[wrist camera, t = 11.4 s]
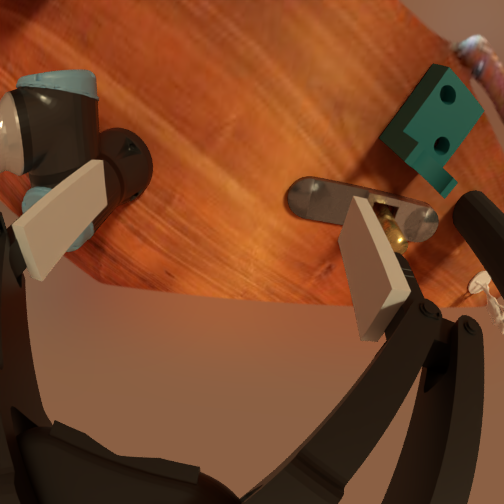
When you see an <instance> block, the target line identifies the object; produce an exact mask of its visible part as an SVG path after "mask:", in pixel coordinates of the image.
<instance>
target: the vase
mask: <svg viewBox="0 0 504 504" xmlns="http://www.w3.org/2000/svg"><path fill="white" fill-rule="evenodd" d="M453 223H454V225H455V227H456V228H457V230H458V231H459V232H460V234H461V235H462V236H463V238H464V239H465V240H466V242H467V243H468V245H469V246H470V247H471V249H472V250H473V252H474V253H475V255H476V256H477V257H478V259H479V260H480V262H481V263H482V265H483V266H484V268H485V269H486V271H487V273H488V274H489V276H490V277H491V279H492V281H493V282H494V284H495V285H496V287H497V289H498V290H499V292H500V294H501V296H502V297H503V299H504V213H503V212H502V211H501V210H500V209H499V208H498V207H497V206H496V205H495V204H494V203H493V202H492V201H491V200H490V199H488V198H487V197H486V196H485V195H484V194H483V193H482V192H480V191H476V190H475V191H470V192H468V193H466V194H465V195H463V196H462V197H461V198H460V200H459V201H458V202H457V204H456V206H455V208H454V212H453Z"/></svg>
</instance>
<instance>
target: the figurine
mask: <svg viewBox="0 0 504 504" xmlns="http://www.w3.org/2000/svg"><path fill="white" fill-rule="evenodd" d="M490 280H491V277H490V276H489V274H488V273H487V271H481V272H479V273H478V274H476V275H475V276H474V277H473V278H472V279H471V281H470V283H469V286H468V290H469V292H470V293H471V294H472V293H479V292H481V291H482V290H484V292H485V293H486V294H487V305H486V308H487V311H488V313H489V314H490V316H491V320H492V324H493V325H498V327H499V329H500V332H501V334H504V310H503V312H502V311H501V309H500V307H502V308H504V306H502V305H500V304H498V302H497V300H496V298H494V297H493V296H491V295H490V293H489V287H488V284H489V283H490ZM486 288H487V289H486ZM499 306H500V307H499ZM492 317H493V318H492ZM493 319H494V320H495V321H494V320H493Z"/></svg>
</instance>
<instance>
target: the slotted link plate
mask: <svg viewBox="0 0 504 504" xmlns="http://www.w3.org/2000/svg"><path fill="white" fill-rule="evenodd" d="M353 196H357V197H361V198H365V199H367V200H368V202H369V204H370V206H371V207H372V208H373V205H374V202H379V203H383V204H387V205H392V206H393V209H392V211H391V214H392V215H393V217H394V219H395V221H396V222H397V224H398V226H399V228H400V229H401V231H402V233H403V235H404V237H405V239H406V240H407V241H412V242H422V241H425V240H427V239H429V238H430V237H431V236H432V235H433V234H434V233H435V231H436V230H437V227H438V223H439V220H438V216H437V214H436V212H435V211H434V210H433V208H432V207H431V206H430V205H429V204H428V203H426V202H422V201H419V200H415V199H411V198H407V197H404V196H400V195H396V194H392V193H388V192H384V191H379V190H375V189H371V188H367V187H362V186H358V185H353V184H348V183H344V182H339V181H334V180H329V179H324V178H318V177H312V176H307V177H302V178H300V179H298V180H296V181H295V182H294V183H293V184H292V185H291V187H290V189H289V191H288V204H289V207H290V209H291V210H292V211H293V213H295V214H296V215H297V216H299V217H302V218H305V219H311V220H317V221H323V222H329V223H334V224H340V225H343V224H344V222H345V219H346V216H347V213H348V210H349V207H350V204H351V201H352V198H353Z"/></svg>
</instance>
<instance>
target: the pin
mask: <svg viewBox="0 0 504 504" xmlns="http://www.w3.org/2000/svg"><path fill="white" fill-rule="evenodd" d="M372 209H373V211H374V213H375V215H376V217H377V219H378V221H379V223H380V225H381V227H382V229H383V231H384V233H385V235H386V237H387V239H388V241H389V243H390V245H391V247H392V249H393V251H394V252H397V253H400V254H401V255H402V254H403V253H404V252H405V251H406V250H407V248H408V242H407V240H406V239H405V237H404V235H403V233H402V231H401V229H400V228H399V226H398V224H397V222H396V221H395V219H394V217H393V215H392V214H391V212H390V210H389V209H388V207H387V205H386V204H383V203H379V202H378V203H375V204H374V205H373V208H372Z"/></svg>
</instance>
